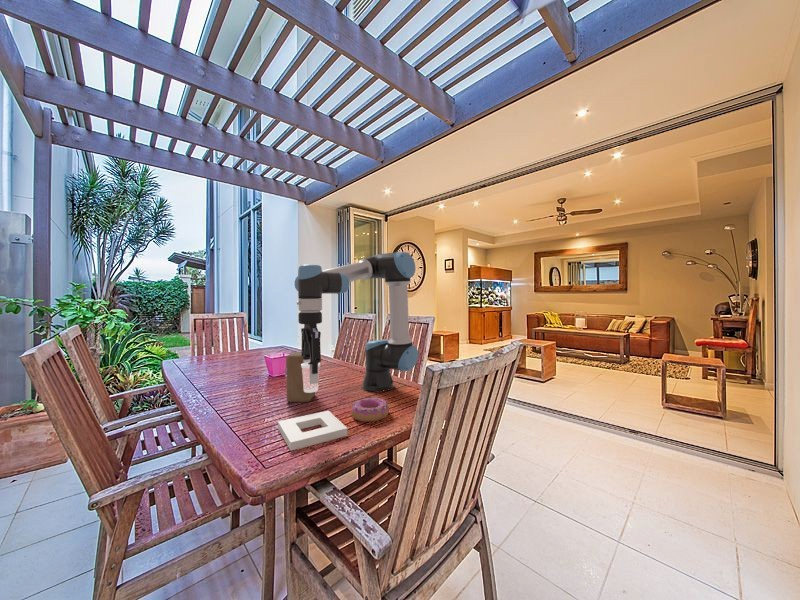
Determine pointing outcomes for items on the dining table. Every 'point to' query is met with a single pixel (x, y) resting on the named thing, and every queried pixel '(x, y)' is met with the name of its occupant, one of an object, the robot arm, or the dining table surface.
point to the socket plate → (300, 440)
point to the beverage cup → (306, 381)
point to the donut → (370, 409)
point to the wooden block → (296, 379)
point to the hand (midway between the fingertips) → (310, 380)
